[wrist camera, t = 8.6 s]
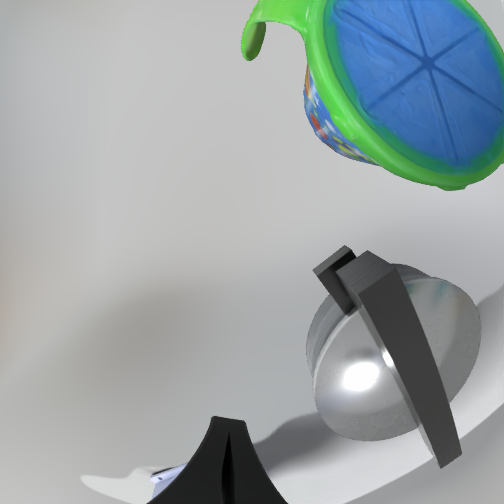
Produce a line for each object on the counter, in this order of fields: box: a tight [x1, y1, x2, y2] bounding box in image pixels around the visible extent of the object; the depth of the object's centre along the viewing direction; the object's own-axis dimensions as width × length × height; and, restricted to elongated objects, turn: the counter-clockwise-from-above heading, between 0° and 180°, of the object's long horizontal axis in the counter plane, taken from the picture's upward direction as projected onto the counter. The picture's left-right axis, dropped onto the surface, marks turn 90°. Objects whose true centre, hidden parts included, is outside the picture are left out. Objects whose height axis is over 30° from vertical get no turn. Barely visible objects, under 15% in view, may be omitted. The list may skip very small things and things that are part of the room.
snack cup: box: [241, 0, 504, 191], centre depth 13 cm, size 16×10×10 cm
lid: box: [313, 250, 481, 468], centre depth 16 cm, size 18×13×4 cm
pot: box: [306, 245, 430, 377], centre depth 20 cm, size 18×12×4 cm, turn 38°
